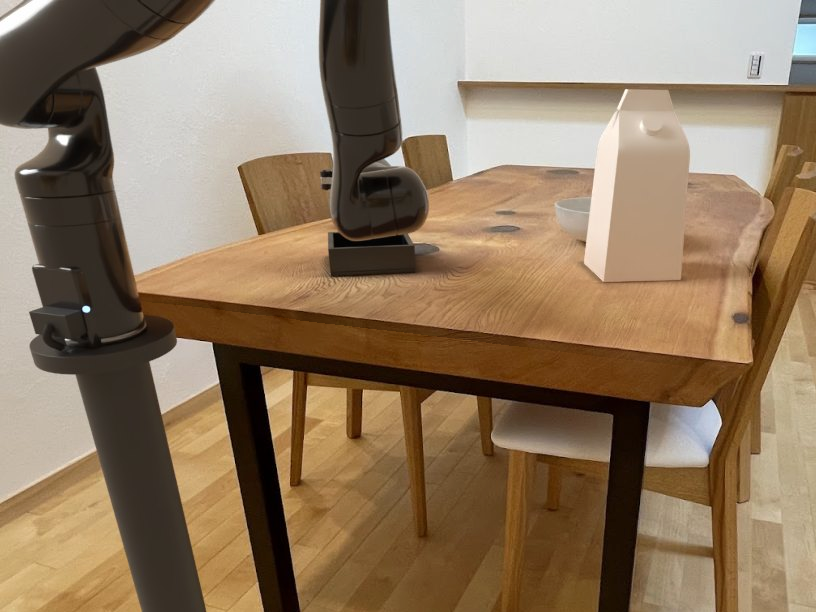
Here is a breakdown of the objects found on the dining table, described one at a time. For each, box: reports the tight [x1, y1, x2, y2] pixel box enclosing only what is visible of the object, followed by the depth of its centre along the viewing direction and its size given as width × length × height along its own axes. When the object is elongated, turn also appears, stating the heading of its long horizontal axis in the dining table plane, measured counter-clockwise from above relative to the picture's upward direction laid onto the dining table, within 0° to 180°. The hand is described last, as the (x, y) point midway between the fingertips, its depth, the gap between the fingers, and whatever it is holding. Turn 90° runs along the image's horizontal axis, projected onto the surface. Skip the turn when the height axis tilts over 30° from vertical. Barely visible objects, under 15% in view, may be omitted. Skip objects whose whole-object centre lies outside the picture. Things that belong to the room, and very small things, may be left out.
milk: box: [583, 88, 691, 283], centre depth 98 cm, size 12×12×26 cm
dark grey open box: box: [327, 231, 417, 277], centre depth 104 cm, size 13×13×4 cm
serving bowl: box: [554, 196, 592, 243], centre depth 121 cm, size 21×21×7 cm
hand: (364, 172), depth 102 cm, fingers closed
